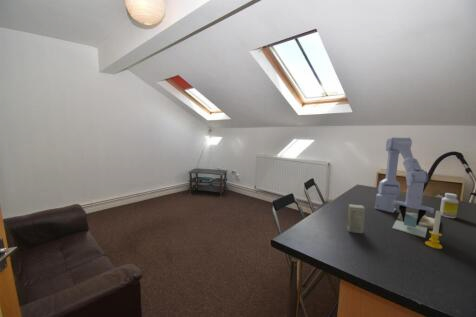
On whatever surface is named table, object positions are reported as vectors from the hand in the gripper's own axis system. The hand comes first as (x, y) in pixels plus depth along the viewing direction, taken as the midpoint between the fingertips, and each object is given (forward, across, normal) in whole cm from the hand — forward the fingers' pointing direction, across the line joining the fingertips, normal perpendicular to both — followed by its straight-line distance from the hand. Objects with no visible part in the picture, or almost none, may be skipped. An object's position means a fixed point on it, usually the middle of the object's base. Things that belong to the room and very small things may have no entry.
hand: (410, 222), depth 99 cm
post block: (+3, +2, +15) cm, 15 cm away
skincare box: (+3, -18, -22) cm, 29 cm away
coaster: (+3, 0, 0) cm, 3 cm away
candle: (+3, +9, -12) cm, 15 cm away
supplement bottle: (+3, +13, +36) cm, 38 cm away
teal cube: (+1, 0, 0) cm, 1 cm away
